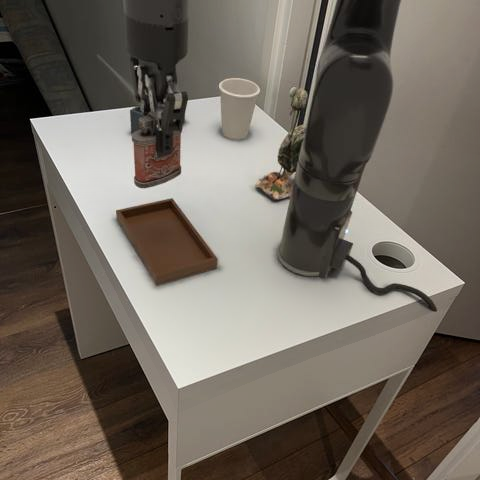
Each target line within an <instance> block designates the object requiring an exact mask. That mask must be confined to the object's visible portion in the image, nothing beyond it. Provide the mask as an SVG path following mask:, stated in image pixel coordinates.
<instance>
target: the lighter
mask: <svg viewBox="0 0 480 480" xmlns="http://www.w3.org/2000/svg"><path fill="white" fill-rule="evenodd" d="M162 116H163V113H162V114H161V118H162ZM139 126H140V129H139V130H137V131H135V132H133V133H132V134H131V141H132V143H133V159H134V160H133V161H134V164H133V165H134V176H133V183H134V186H136V187H137V188H139V189H150V188H154V187H157V186H159V185H163V184H166V183H168V182H169V181H173V180H174V179H176V178H177V177H179V176H180V175H181V174H182V166H181V148H182V147H181V145H182V144H181V143H182V133H183V129H182V130H181V131H174V132H173V152H172V153H171V154H169V155H163V156H160V155H158V153H157V152H156V123H155V114H154V112H152V111H150V112H149V113H148V115H147V116H145V117H142V118H139Z"/></svg>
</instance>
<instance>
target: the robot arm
mask: <svg viewBox="0 0 480 480" xmlns="http://www.w3.org/2000/svg"><path fill="white" fill-rule="evenodd" d="M122 3H123V21H124V37H125V48H126V51H127V53H128V54H129V63H130V71H131V77H132V83H133V84H132V85H133V90H134V99H135V102H137V103H139V104H140V109H141V111H142V113H143V117H145V116H147V115H148V113H149V112H150V111H152V112H154V114H155V123H156V152H157V153H158V155H160V156H163V155H169V154H171V153H172V152H173V132H174V131H181V130H182V131H183V126H184V123H183V121H184V116H185V117H186V111H187V106H188V101H189V96H188V92H187V91H180V90H179V88H178V85H179V81H178V74H177V64H178V63H180V61H182V60H183V59H185V58H186V57H187V55H188V51H189V50H188V49H189V47H188V46H189V18H190V17H189V16H190V15H189V14H190V13H189V12H190V0H122ZM401 3H402V0H336V1H335V5H334V9H333V13H332V16H331V20H330V24H329V27H328V31H327V34H326V36H325V37H326V38H325V41H324V44H323V47H322V51H321V53H320V56H319V59H318V62H317V66H316V75H315V85H314V89H313V93H312V94H313V95H312V98H311V104H310V108H309V113H308V118H307V122H306V125H307V126H306V131H305V135H304V139H303V142H302V145H301V149H300V154H299V159H298V163H297V168H296V172H294V178H293V187H292V191H291V196H290V195H289V201H288V206H287V211H286V216H285V220H284V225H283V229H282V234H281V239H280V243H279V246H278V249H277V250H278V251H277V257H278V260H279V262H280V263H281V265H282V266H284V267H285V268H286V269H287V270H289V271H290V272H292V273H295V274H297V275H300V276H304V277H321V278H323V279H324V278H327V276H328V275H329V273H330V272H331V270H332V269H335V270H338V271H341V270H342V268H343V267H344V265H345V263H346V261H347V262H348V263H350V264H351V265H353V266H354V267H355V268H356V269H357V270H358V271H359V273H360V278H361V280H362V281H363V282H364V284H365V286H366V287H367V289H369V290H370V291H372V292H373V293H376V294H379V295H382V294H386V293H388V292H390V291H392V290H399V291H402V292H403V291H404V292H407V293H411V294H413V295H415V296H416V297H418V298H420V299H421V300H422V301H424V303H425V304H426V305H427V306H428V308H429V310H430V311H432V312H434V313H436V312H438V309H437V306H436V304H435V302H434V301H433V299H431V297H429V296H428V295H427V294H426V293H425V292H423V291H421V290H420V289H418V288H416V287H414V286H413V287H412V286H410V285H407V284H402V283H397V282H396V283H390V284H388V285H386V286H384V287H378V286H376V285H375V284H373V283H372V281H371V280H370V279H369V277H368V274H367V271H366V268H365V267H364V265H362V263H360V261H358V260H357V259H356V258H354V257H352V255H350V254H351V251H352V250H353V246H354V242H351V241H349V240H346V239H345V237H346V236H345V235H346V234H347V233H348V232H349V230H348V227H349V224H350V221H351V218H352V215H353V210H352V207H353V204H354V201H355V199H356V195H357V192H358V189H359V185H360V183H361V180H362V177H363V174H364V171H365V168H366V165H367V164H368V162H369V161H370V159H371V158H372V156H373V153H374V151H375V148H376V145H377V143H378V140H379V138H380V135H381V132H382V128H383V125H384V123H385V120H386V117H387V114H388V113H389V112H388V111H389V109H390V106H391V102H392V98H393V93H394V75H393V71H392V64H391V56H392V47H393V42H394V41H393V40H394V35H395V31H396V25H397V20H398V16H399V10H400V7H401ZM160 102H165V104H161V105H160ZM162 113H163V116H162V118H161V114H162Z"/></svg>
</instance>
